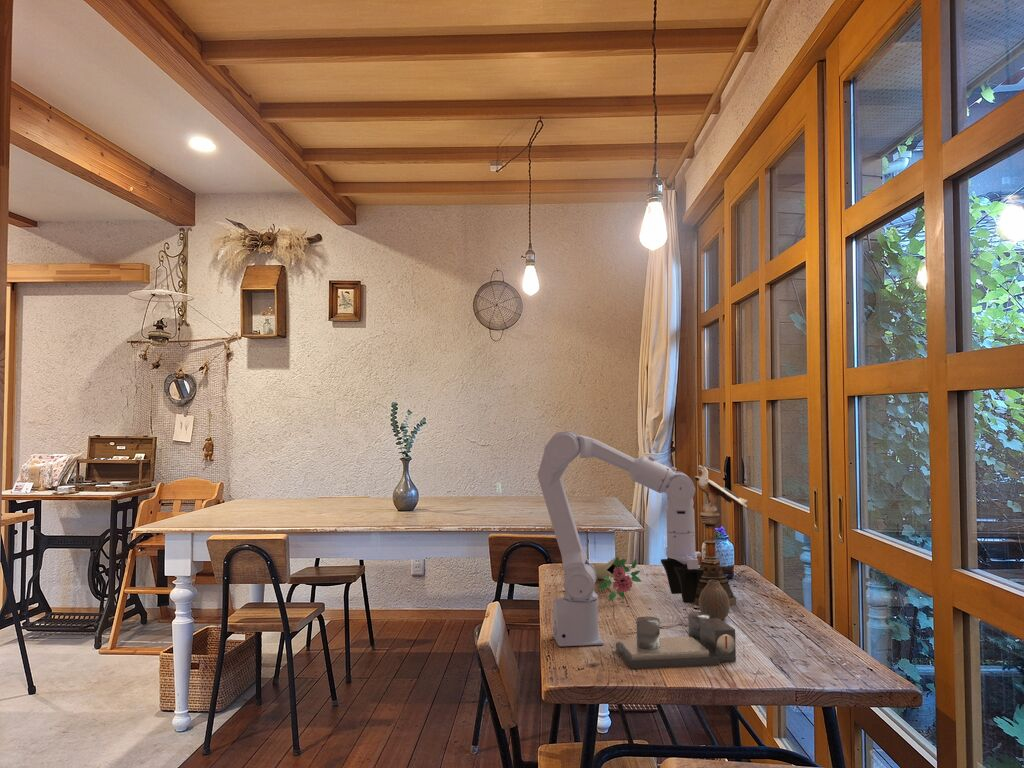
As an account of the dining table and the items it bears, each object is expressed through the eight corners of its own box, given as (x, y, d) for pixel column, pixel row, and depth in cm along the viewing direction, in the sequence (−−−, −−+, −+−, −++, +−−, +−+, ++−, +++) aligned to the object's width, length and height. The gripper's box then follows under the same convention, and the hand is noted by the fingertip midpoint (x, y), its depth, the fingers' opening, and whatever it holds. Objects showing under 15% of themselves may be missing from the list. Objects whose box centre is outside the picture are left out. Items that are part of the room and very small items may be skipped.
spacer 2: (693, 642, 150) (692, 617, 150) (685, 636, 155) (685, 612, 155) (713, 641, 151) (712, 617, 151) (705, 635, 155) (704, 611, 155)
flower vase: (613, 606, 209) (647, 609, 175) (573, 594, 208) (599, 595, 175) (623, 566, 212) (657, 561, 178) (583, 554, 212) (610, 547, 178)
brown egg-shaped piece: (709, 624, 163) (708, 585, 164) (693, 616, 170) (692, 578, 170) (736, 621, 165) (735, 582, 166) (719, 614, 172) (718, 576, 172)
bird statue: (744, 594, 191) (741, 461, 193) (761, 607, 178) (757, 464, 180) (681, 594, 191) (679, 462, 193) (694, 607, 178) (691, 465, 180)
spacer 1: (642, 649, 138) (641, 622, 138) (633, 642, 142) (633, 617, 142) (663, 647, 139) (663, 621, 139) (654, 641, 143) (653, 615, 143)
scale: (630, 669, 134) (630, 636, 134) (615, 650, 145) (615, 620, 145) (739, 664, 136) (738, 631, 137) (716, 646, 147) (715, 616, 148)
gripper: (712, 536, 143) (714, 605, 142) (687, 525, 157) (689, 589, 156) (677, 537, 142) (679, 607, 141) (656, 526, 156) (657, 590, 156)
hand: (682, 597), depth 149 cm, fingers open, 7 cm apart
